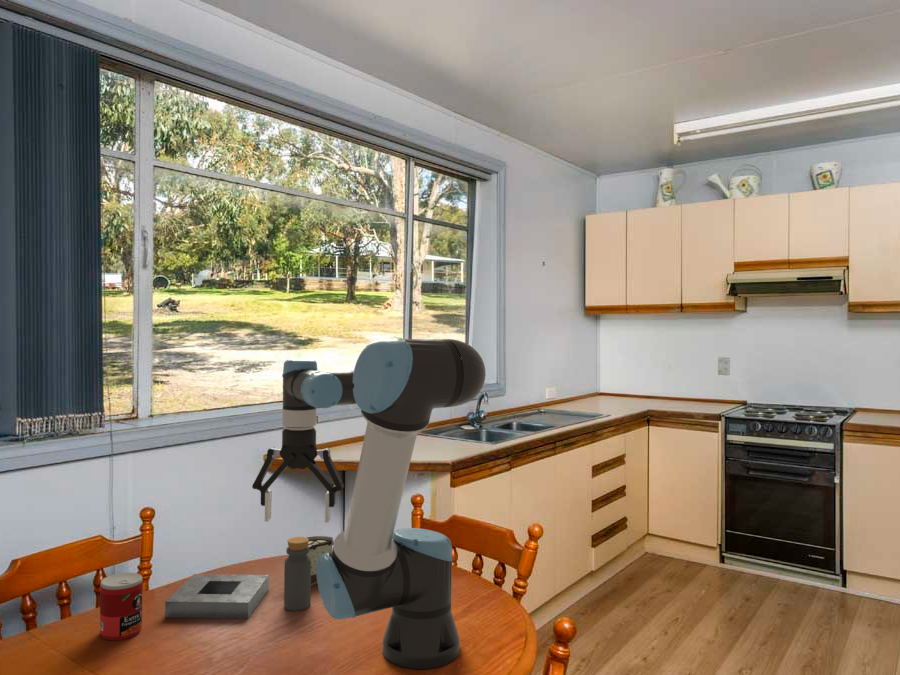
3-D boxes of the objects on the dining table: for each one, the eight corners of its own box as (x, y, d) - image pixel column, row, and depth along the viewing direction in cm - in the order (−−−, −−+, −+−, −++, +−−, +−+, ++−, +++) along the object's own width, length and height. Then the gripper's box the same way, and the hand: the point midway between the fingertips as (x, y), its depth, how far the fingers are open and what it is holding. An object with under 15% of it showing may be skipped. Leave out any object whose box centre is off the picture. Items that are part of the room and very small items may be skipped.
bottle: (301, 598, 152) (302, 534, 152) (315, 605, 148) (316, 540, 148) (279, 605, 148) (279, 539, 148) (292, 613, 144) (293, 545, 144)
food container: (317, 570, 170) (317, 532, 170) (333, 576, 166) (334, 536, 166) (279, 585, 160) (279, 544, 160) (296, 591, 156) (296, 549, 156)
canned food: (125, 643, 129) (126, 588, 129) (90, 638, 131) (91, 584, 131) (150, 626, 137) (151, 574, 137) (117, 622, 138) (117, 570, 138)
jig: (248, 618, 141) (248, 602, 141) (165, 617, 141) (165, 601, 141) (268, 589, 157) (268, 574, 157) (193, 588, 157) (194, 574, 157)
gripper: (356, 425, 152) (355, 516, 152) (249, 423, 151) (248, 514, 152) (351, 431, 144) (350, 526, 144) (239, 428, 144) (237, 524, 144)
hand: (297, 520), depth 148 cm, fingers open, 13 cm apart
